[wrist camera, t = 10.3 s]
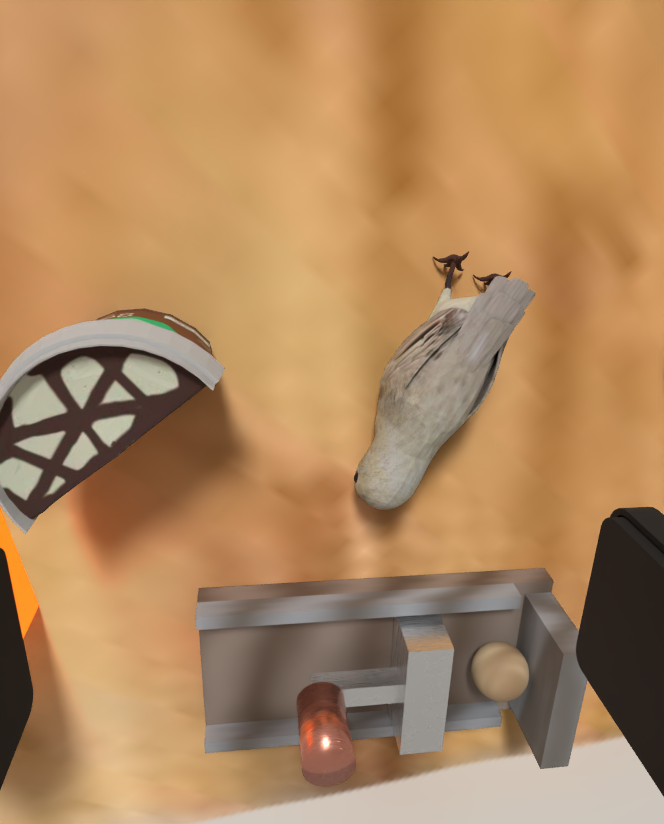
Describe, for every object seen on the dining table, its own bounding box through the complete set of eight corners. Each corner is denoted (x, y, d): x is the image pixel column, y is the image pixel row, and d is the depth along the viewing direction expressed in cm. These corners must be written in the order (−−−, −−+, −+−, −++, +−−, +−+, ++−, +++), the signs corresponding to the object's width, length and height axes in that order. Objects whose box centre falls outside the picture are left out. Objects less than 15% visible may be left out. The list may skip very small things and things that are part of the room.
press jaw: (436, 608, 44) (475, 698, 37) (426, 705, 47) (459, 805, 40) (293, 617, 43) (302, 712, 35) (293, 716, 46) (301, 822, 39)
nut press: (544, 568, 46) (596, 639, 39) (522, 692, 51) (565, 776, 44) (198, 588, 43) (189, 670, 36) (207, 718, 48) (200, 813, 41)
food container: (156, 240, 34) (123, 269, 25) (229, 326, 37) (223, 382, 27) (-7, 374, 36) (-95, 447, 27) (72, 449, 38) (16, 540, 29)
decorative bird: (324, 468, 41) (339, 530, 34) (434, 236, 36) (477, 253, 30) (396, 492, 42) (425, 557, 36) (511, 272, 38) (570, 296, 31)
